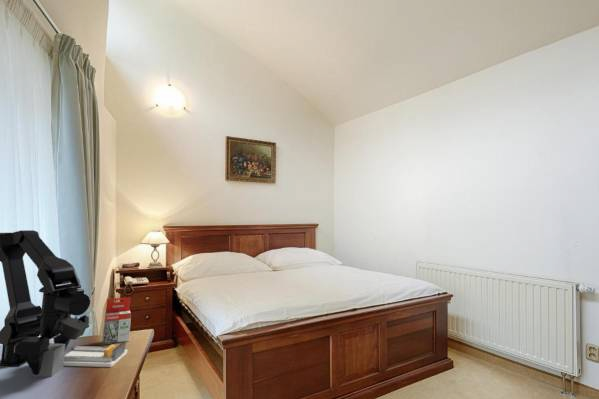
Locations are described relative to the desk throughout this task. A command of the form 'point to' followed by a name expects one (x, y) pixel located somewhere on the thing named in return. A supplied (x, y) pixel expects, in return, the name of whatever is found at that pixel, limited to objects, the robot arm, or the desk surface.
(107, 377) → the desk surface
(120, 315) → the ink box
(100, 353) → the rail plate
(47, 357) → the block
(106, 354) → the bar
